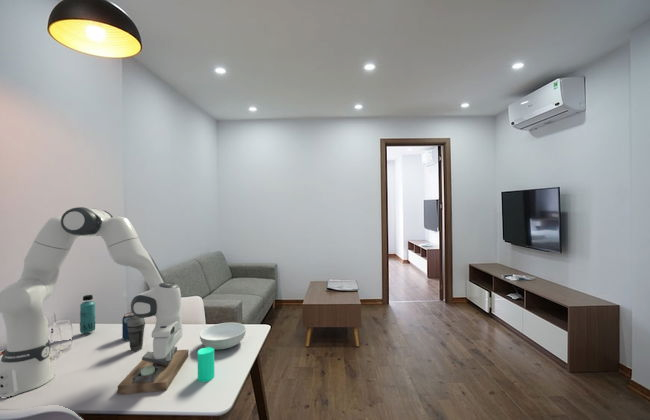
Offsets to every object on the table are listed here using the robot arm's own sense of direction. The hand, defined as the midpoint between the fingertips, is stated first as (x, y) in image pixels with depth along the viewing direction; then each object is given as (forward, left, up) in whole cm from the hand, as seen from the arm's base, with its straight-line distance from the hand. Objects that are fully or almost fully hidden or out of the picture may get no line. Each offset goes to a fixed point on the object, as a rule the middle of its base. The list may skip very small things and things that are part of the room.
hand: (169, 359), depth 118 cm
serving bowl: (+16, +22, -6) cm, 28 cm away
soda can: (-32, +37, -6) cm, 49 cm away
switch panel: (-5, 0, -5) cm, 7 cm away
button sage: (-5, -8, -2) cm, 9 cm away
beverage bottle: (-57, +46, -6) cm, 73 cm away
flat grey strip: (-5, 0, 0) cm, 5 cm away
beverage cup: (-23, +23, -6) cm, 33 cm away
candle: (+15, -6, -6) cm, 17 cm away
